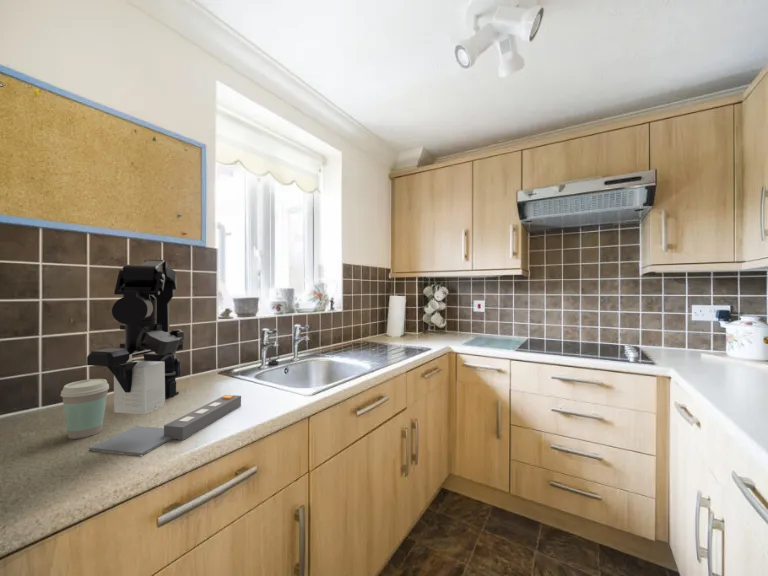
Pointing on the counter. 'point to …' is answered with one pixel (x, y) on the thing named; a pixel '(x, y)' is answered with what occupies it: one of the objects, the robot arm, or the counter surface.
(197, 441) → the counter surface
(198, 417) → the power strip
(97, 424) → the coffee cup
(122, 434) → the rubber mat
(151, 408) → the small box
